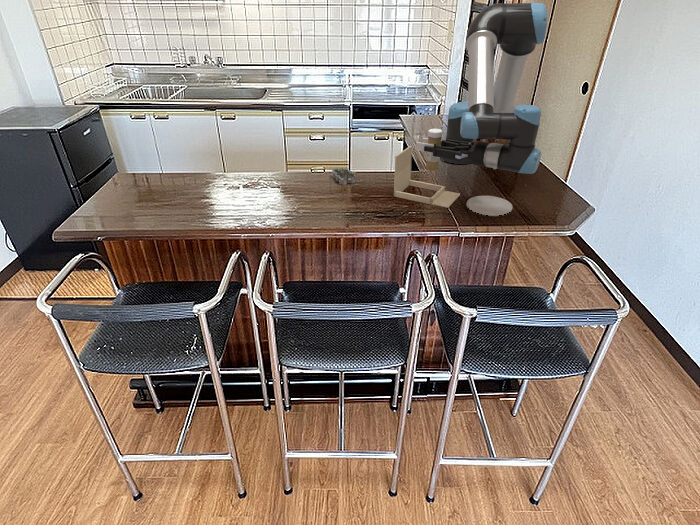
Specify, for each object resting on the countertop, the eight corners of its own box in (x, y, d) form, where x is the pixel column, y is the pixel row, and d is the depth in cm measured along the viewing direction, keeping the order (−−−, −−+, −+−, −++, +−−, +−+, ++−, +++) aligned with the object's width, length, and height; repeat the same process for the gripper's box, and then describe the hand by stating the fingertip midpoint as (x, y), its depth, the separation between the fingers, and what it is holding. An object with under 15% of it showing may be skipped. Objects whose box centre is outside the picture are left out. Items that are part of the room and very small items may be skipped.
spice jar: (424, 166, 153) (427, 128, 145) (437, 166, 153) (441, 128, 145) (426, 171, 149) (429, 132, 142) (439, 171, 149) (443, 131, 141)
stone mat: (487, 193, 158) (487, 192, 157) (521, 208, 147) (522, 206, 147) (457, 204, 151) (457, 202, 150) (491, 220, 140) (491, 218, 140)
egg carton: (357, 183, 169) (357, 173, 167) (339, 186, 167) (339, 176, 165) (348, 174, 178) (348, 164, 176) (331, 176, 176) (330, 167, 174)
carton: (460, 194, 158) (465, 154, 149) (448, 208, 149) (452, 165, 140) (408, 184, 167) (410, 145, 159) (393, 196, 158) (395, 155, 150)
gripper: (476, 174, 134) (407, 162, 145) (493, 158, 146) (428, 147, 157) (480, 150, 130) (408, 139, 141) (497, 135, 142) (430, 126, 153)
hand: (419, 144), depth 149 cm, fingers closed on spice jar, 4 cm apart
